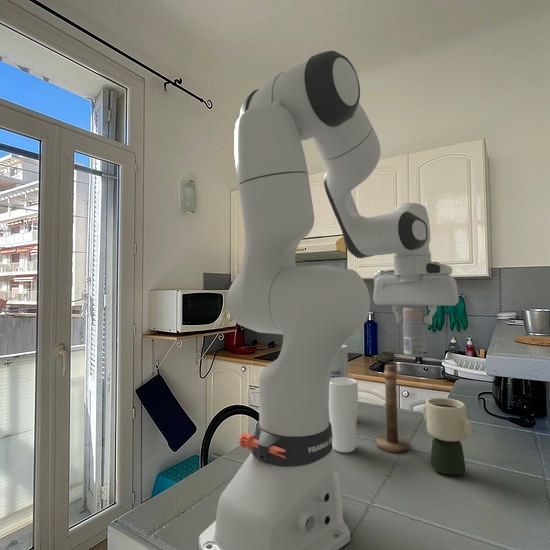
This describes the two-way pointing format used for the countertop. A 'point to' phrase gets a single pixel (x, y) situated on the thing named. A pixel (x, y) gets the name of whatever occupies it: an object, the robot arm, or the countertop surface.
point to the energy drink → (414, 332)
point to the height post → (391, 416)
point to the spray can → (340, 364)
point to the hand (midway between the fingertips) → (414, 323)
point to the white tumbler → (343, 413)
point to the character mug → (447, 433)
